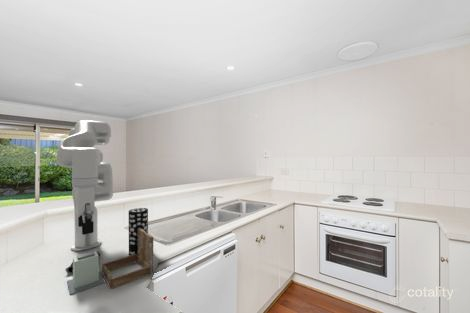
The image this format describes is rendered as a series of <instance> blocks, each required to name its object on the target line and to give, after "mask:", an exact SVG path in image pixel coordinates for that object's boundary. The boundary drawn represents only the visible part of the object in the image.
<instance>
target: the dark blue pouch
mask: <svg viewBox="0 0 470 313" xmlns="http://www.w3.org/2000/svg"><path fill="white" fill-rule="evenodd" d="M92 251H93V252H94V251H96V252H97V254H98V255H99V259H100V258H101V255H102V253H101V252H100V251H97V250H90V251H86V252H83V253H82V254H84V253H88V252H92ZM65 271H66V273H67V274H71V273H73V261H72V262H71V264H70V265H69V266H67V267H66V268H65Z"/></svg>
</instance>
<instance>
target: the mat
mask: <svg viewBox="0 0 470 313" xmlns="http://www.w3.org/2000/svg"><path fill="white" fill-rule="evenodd" d="M66 283H67V289H68V293H69V296H72V295H74V294H77V293H81V292H84V291H86V290H89V289H92V288H94V287H95V288H96V287H98V286H100V285H104V284H106V280H105V279H104V276H103V275H102V272H101V271H100V270H99V280H98V281H95V282H92V283H89V284H86V285H83V286H80V287H78V288H74V284H73V278H72V279H69V280H67V281H66Z"/></svg>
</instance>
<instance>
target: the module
mask: <svg viewBox="0 0 470 313" xmlns="http://www.w3.org/2000/svg"><path fill="white" fill-rule="evenodd" d="M91 251H92V252H90V251H87V252H88V253H86V252H83V253H84V254H83V253H80V254H77V255H75V256H73V257H72V262H73V272H72V279H73V284H74V288H78V287H80V286H83V285H86V284H89V283H92V282H95V281H98V280H99V271H100V269H99V268H100V267H99V266H100V263H99V260H100V258H99V255H98V254H97V252H96V251H97V250H91ZM93 251H94V252H93Z"/></svg>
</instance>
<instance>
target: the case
mask: <svg viewBox="0 0 470 313" xmlns="http://www.w3.org/2000/svg"><path fill="white" fill-rule="evenodd" d="M134 263H137V264H138V265H139V266H140V267H141V268H139V269H135V270H133V271H130V272H127V273H124V274H121V275H119V276H116V277H113V276H112V274H111V272H110V271H111V270H115V269H118V268H121V267H125V266H127V265H131V264H134ZM154 269H155V268H154V236H152V235H151V234H150V233H149V232H148V233H147V232H146V231H144V230H143V229H141V228H138V254H134V255H131V256H129V255H128V256H125V257H121V258H118V259H115V260H111V261H107V262H105V263H102V264H101V274H103V275H102V276H103V278H105V279H104V280H105V282H107V284H108V286H109V288H110V289H111V290H112V289H115V288H118V287H121V286H123V285H126V284H128V283H131V282H135V281H136V280H139V279H142V278H144V277H148V276H150V277H151V276H153V274H154V271H155V270H154Z"/></svg>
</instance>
